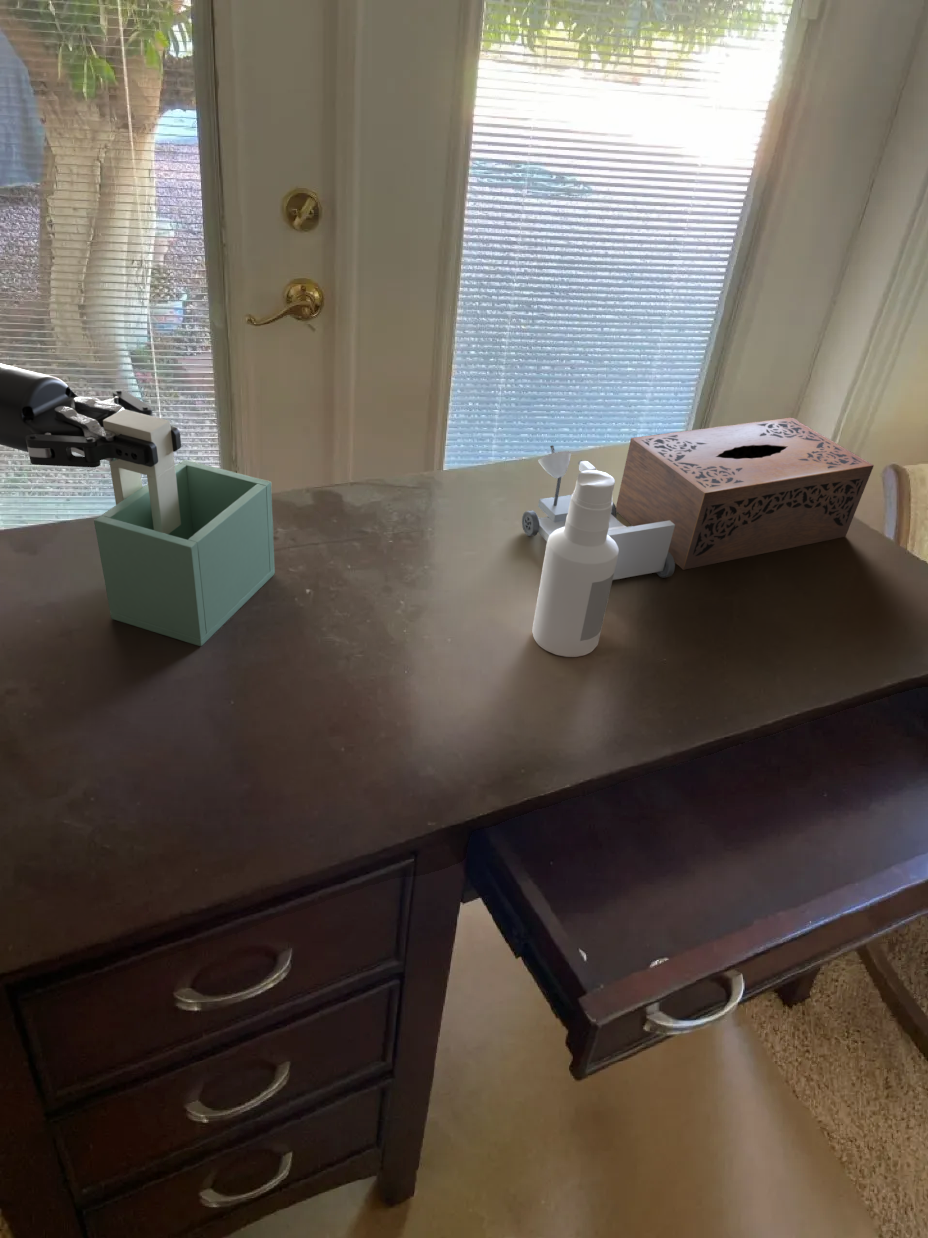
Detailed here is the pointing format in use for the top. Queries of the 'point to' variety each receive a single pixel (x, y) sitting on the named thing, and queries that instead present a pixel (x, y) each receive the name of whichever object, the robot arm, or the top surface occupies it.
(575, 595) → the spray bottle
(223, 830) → the top surface
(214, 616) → the bin
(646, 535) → the toy car
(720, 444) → the tissue box cover
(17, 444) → the robot arm
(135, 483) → the clip
